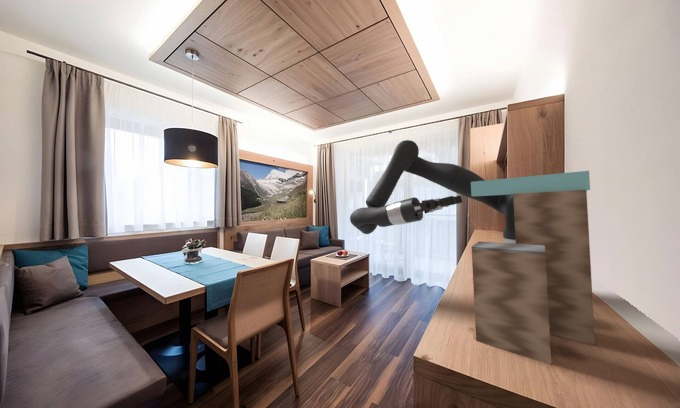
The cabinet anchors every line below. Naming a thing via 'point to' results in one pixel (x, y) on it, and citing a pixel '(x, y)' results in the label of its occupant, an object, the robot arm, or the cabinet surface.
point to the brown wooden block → (512, 298)
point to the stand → (561, 257)
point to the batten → (532, 184)
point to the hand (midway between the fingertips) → (458, 199)
